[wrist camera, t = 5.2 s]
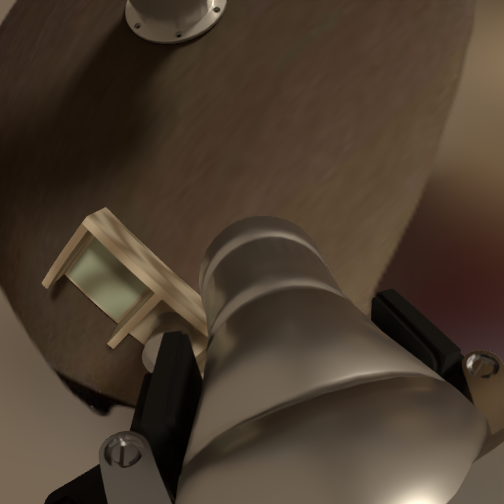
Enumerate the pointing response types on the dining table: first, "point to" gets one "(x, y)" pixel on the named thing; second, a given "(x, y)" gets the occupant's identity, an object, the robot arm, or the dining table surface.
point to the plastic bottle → (313, 389)
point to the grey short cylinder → (161, 326)
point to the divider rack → (127, 281)
